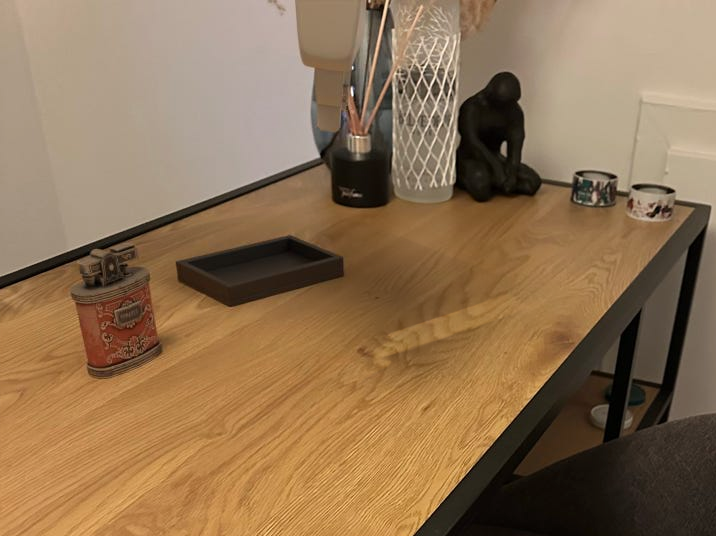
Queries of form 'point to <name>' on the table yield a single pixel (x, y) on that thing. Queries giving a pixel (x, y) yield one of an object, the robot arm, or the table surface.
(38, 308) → the table surface
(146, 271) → the lighter
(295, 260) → the dark serving tray
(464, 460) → the table surface
